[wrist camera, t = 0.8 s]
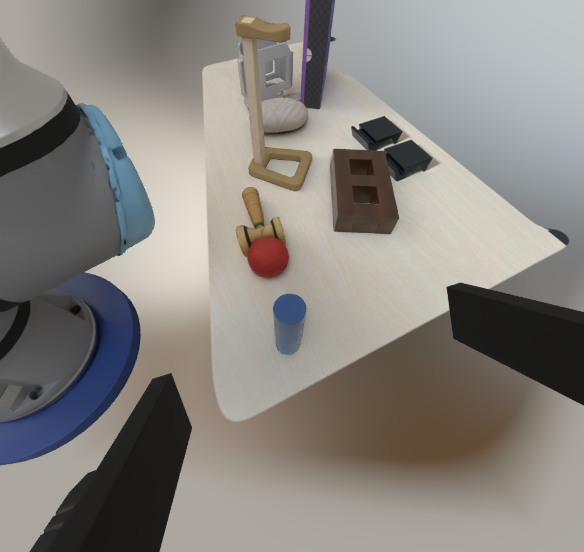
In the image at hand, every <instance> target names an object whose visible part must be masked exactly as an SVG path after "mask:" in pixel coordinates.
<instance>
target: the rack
mask: <svg viewBox="0 0 584 552" xmlns="http://www.w3.org/2000/svg"><path fill="white" fill-rule="evenodd" d="M330 171H331V189H332V207H333V224H334V231H337V232H360V233H382V234H391V232H392V230H393V229H394V227H395V225H396V223H397V221H398V219H399V215H398V210H397V206H396V201H395V196H394V192H393V187H392V183H391V178H390V173H389V169H388V164H387V160H386V155H385V151H371V150H350V149H333V154H332V159H331V165H330ZM354 203H370V204H354Z"/></svg>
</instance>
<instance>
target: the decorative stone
mask: <svg viewBox="0 0 584 552" xmlns="http://www.w3.org/2000/svg"><path fill="white" fill-rule="evenodd" d="M261 103H262V116H263V129H264V132H267V133H273V132H284V131H290V130H294V129H297V128H299V127H301V126H302V125H303V124H304V123H305V122H306V120H307V118H308V111H307V108H306V107H305V105H304V104H303V103H301V102H300V101H298V100H296V99H292V98H273V99H268V100H265V101H262V102H261Z"/></svg>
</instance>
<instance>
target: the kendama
mask: <svg viewBox="0 0 584 552" xmlns="http://www.w3.org/2000/svg"><path fill="white" fill-rule="evenodd" d="M242 197H243V200H244V202H245V205H246V207H247V210H248V213H249V216H250V218H251V221H252V223H253V225H254V227H255V229H251V228H248V227H246V226H244V225H241V226H238V227H236V233H237V238H238V241H239V244H240V247H241V250H242V252H243V254H244V256H248V263H249V265H250V267H251V269H252V270H253V271H254V272H255V273H256V274H258V275H259V276H262V277H275V276H277V275H279V274H280V273H282V272H283V271H284V270H285V268H286V267H287V264H288V259H289V255H288V251H287V248H286V246H285V244H286V240H285V236H284V232H283V229H282V225H281V222H280V219H279V217H275V218H272V220H271V221H270V223H269V224H268V225H266V226H264V219H263V213H262V208H261V204H260V199H259V193H258V191H257V190H256V189H255V188H253V187H248V188H246V189H245V190H244V191H243V193H242Z"/></svg>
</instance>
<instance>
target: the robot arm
mask: <svg viewBox="0 0 584 552" xmlns="http://www.w3.org/2000/svg"><path fill="white" fill-rule="evenodd" d="M154 225H155V218H154V213H153V210H152V206H151V203H150V201H149V198H148V196H147V193H146V191H145V188H144V186H143V184H142V182H141V180H140V177H139V175H138V173H137V171H136V169H135V167H134V165H133V163H132V161H131V160H130V158H128V156H127V153H126V151H125V149H124V147H123V145H122V143H121V141H120V138H119V137H118V135H117V133H116V132H115V130H114V128H113V127H112V125H111V124H110V122H109V120H108V119H107V118H106V116H105V115H104V114H103V113H102V111H101V110H99V108H97V107H96V106H94V105H86V104H82V103H80V104H78V105H75V104H74V102H73V101H72V99H71V97H70V96H69V94H68V93H67V91H66V90H65V88H64V87H63V85H62V84H61V83H60V82H59V81H57V80H56V79H54V78H52V77H50V76H48V75H46V74H44V73H42V72H40V71H38V70H36V69H33V68H31V67H29V66H27V65H25V64H23V63H21V62H20V61H18V60H17V59H16V58H14V56H13V55H12V53H11V52H10V51H9V49H8V48H7V46H6V45H5V44H4V42H3V41H2V40H1V38H0V423H10V422H15V421H20V420H23V419H26V418H29V417H32V416H34V415H36V414H39V413H41V412H43V411H44V410H46V409H48V408H50V407H51V406H53V405H54V404H56V403H57V402H58V401H60V400H61V399H62V398H64V397H65V396H66V395H67V394H68V393H69V392H70V391H71V390H72V389H73V388H74V387H75V386H76V385H77V384H78V383H79V382H80V381H81V379H82V378H83V377H84V375H85V374H86V373H87V371H88V370H89V368H90V366H91V364H92V363H93V361H94V358H95V356H96V354H97V351H98V348H99V343H100V337H101V330H100V323H99V319H98V317H97V315H96V313H95V311H94V310H93V309H92V308H91V307H90V306H89V305H88V304H87V303H85V302H84V301H82V300H81V299H79V298H77V297H76V296H74V295H72V294H69V293H66V292H63V291H59V290H53V289H52V288H54V287H56V286H58V285H60V284H61V283H63V282H65V281H67V280H69V279H71V278H73V277H75V276H77V275H79V274H81V273H83V272H85V271H87V270H89V269H91V268H92V267H95V266H97V265H99V264H101V263H103V262H105V261H106V260H108V259H110V258H112V257H114V256H116V255H117V256H120V255H122V254H123V253H124V252H125V251H126V249H128V248H130V247H132V246H133V245H135V244H137V243H139V242H140V241H142V240H144V239H146V238H147V237H148V236H149V235H150V234H151V233H152V230H153V229H154ZM447 294H448V301H449V309H450V316H451V324H452V331H453V338H454V339H455V340H457V341H459V342H461V343H463V344H465V345H467V346H469V347H471V348H473V349H475V350H477V351H479V352H481V353H483V354H485V355H487V356H488V357H490V358H492V359H494V360H496V361H498V362H500V363H502V364H504V365H506V366H508V367H510V368H512V369H514V370H516V371H518V372H520V373H522V374H523V375H525V376H527V377H529V378H532V379H533V380H535V381H537V382H539V383H541V384H543V385H545V386H547V387H549V388H551V389H553V390H555V391H557V392H559V393H561V394H563V395H564V396H566V397H569V398H570V399H572V400H574V401H576V402H578V403H580V404H582V405H584V312H581V311H577V310H573V309H569V308H565V307H560V306H555V305H552V304H548V303H544V302H539V301H535V300H531V299H527V298H523V297H519V296H514V295H510V294H506V293H502V292H498V291H493V290H489V289H485V288H481V287H477V286H473V285H468V284H464V283H458V284H455V285H451V286H448V287H447ZM191 430H192V426H191V424H190V421H189V418H188V416H187V413H186V411H185V408H184V405H183V403H182V400H181V398H180V395H179V392H178V390H177V387H176V385H175V382H174V379H173V376H172V374H171V373H170V374H167V375H164V376H160V377H157V378H154V379H152V381H151V382H150V384H149V386H148V387H147V389H146V391H145V392H144V394H143V395H142V397H141V399H140V400H139V402H138V404H137V405H136V407H135V409H134V410H133V412H132V413H131V415H130V416H129V418H128V420H127V421H126V423H125V425H124V426H123V428H122V429H121V431H120V433H119V434H118V436H117V438H116V439H115V441H114V442H113V444H112V446H111V448H110V449H109V450H108V452H107V454H106V455H105V457H104V459H103V460H102V462H101V464H100V465H99V467H98V468H97V470H95V471H92V472H90V473H88V474H87V475H86V476H85V477H84V478H83V479H82V480H81V481H80V482H79V483H78V484H77V485H76V486H75V487H74V488H73V489H72V490H71V491H70V492H69V494H68V495H67V497H66V498H65V499H64V501H63V503H62V504H61V505H60V507H59V508H58V510H57V512H56V516H54V517H52V519H51V520H50V522H49V523H48V525H47V526H46V528H45V530H44V534H42V535H40V537H39V538H38V540H37V541H36V543H35V545H34V546H33V548H32V549H31V550H30V552H159V551H160V548H161V544H162V540H163V536H164V532H165V528H166V525H167V521H168V517H169V513H170V510H171V506H172V502H173V498H174V495H175V490H176V487H177V483H178V479H179V476H180V472H181V468H182V464H183V460H184V457H185V453H186V449H187V445H188V441H189V438H190V434H191Z"/></svg>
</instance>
